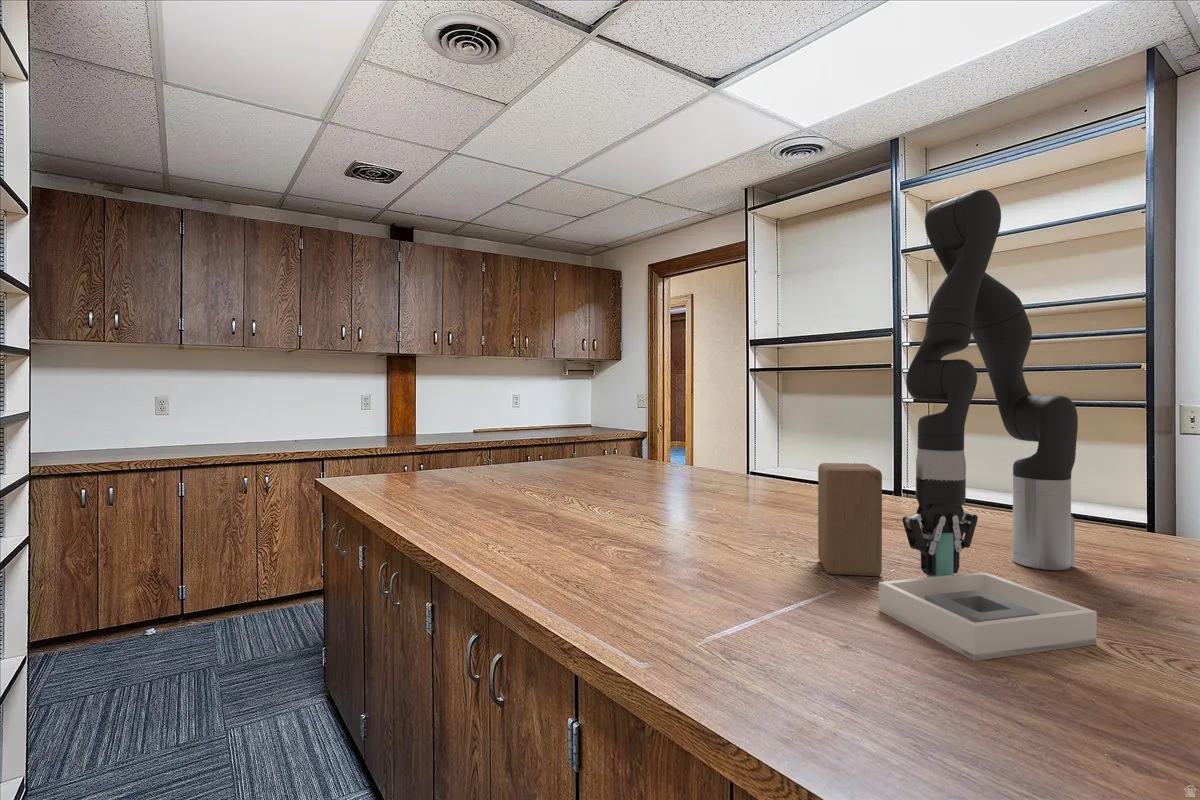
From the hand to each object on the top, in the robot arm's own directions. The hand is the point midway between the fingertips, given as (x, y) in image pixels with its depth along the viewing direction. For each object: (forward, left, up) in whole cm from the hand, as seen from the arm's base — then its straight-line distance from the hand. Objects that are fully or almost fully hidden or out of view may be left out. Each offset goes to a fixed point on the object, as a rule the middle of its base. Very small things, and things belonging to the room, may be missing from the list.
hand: (939, 572), depth 104 cm
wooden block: (+8, -14, -3) cm, 16 cm away
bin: (+7, +15, -3) cm, 17 cm away
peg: (0, 0, -3) cm, 3 cm away
